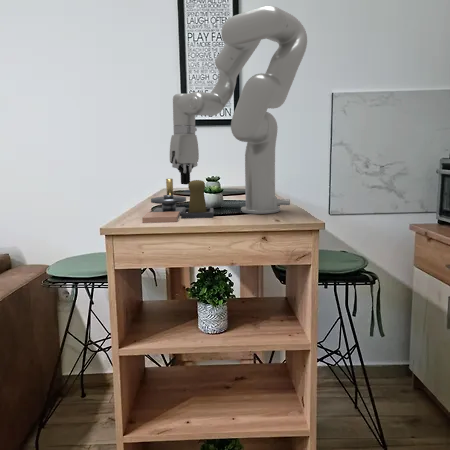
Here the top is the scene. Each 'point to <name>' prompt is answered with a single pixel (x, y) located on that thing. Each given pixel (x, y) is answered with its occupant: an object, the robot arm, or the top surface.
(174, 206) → the hub
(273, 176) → the robot arm
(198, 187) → the cork
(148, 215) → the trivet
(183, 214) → the collar
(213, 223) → the top surface
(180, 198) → the handwheel
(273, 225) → the top surface
